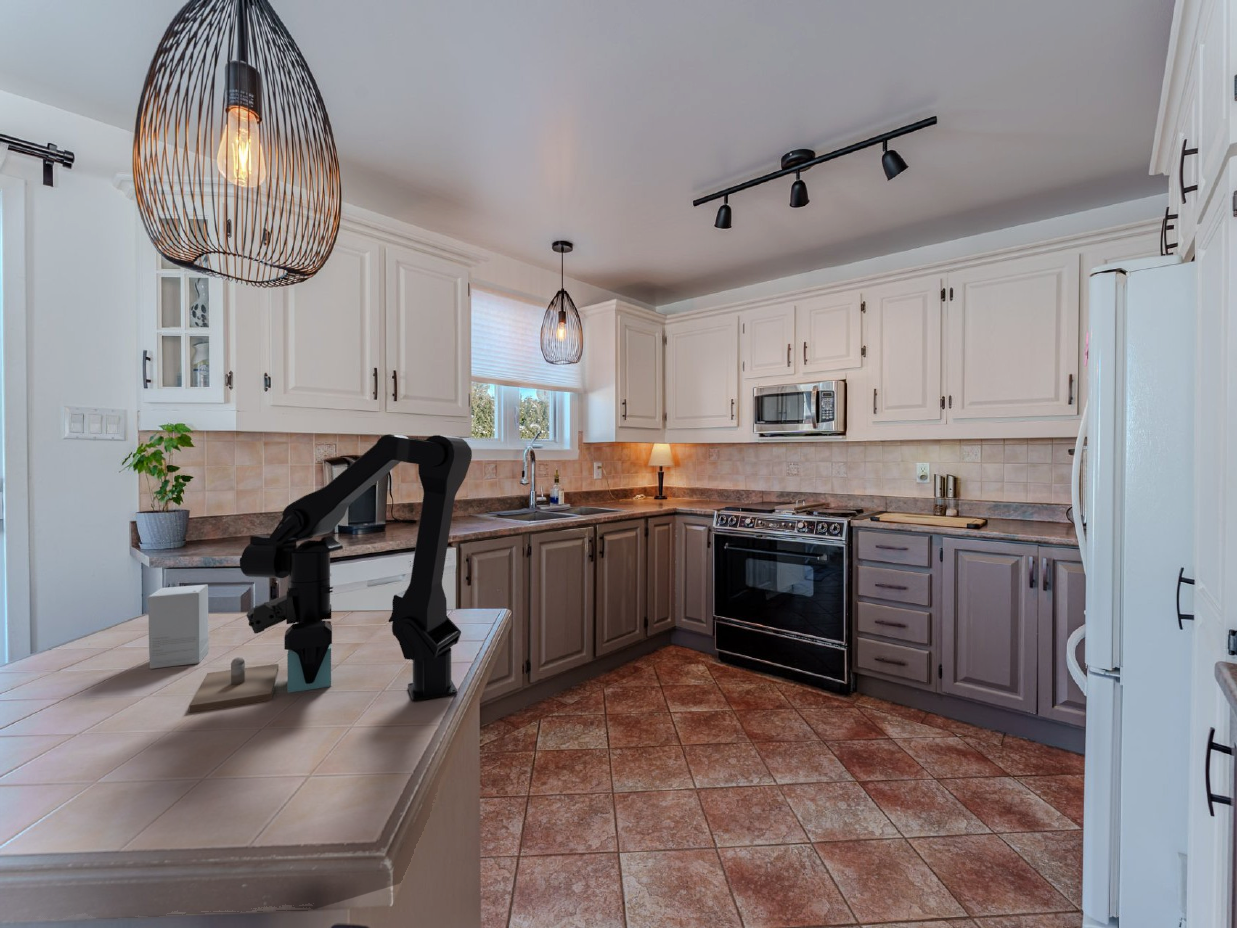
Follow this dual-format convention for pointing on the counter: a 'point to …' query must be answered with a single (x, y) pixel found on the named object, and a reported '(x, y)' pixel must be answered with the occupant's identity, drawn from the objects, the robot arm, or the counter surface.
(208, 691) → the pin plate
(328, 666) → the square socket block
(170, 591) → the supplement box
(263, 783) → the counter surface
